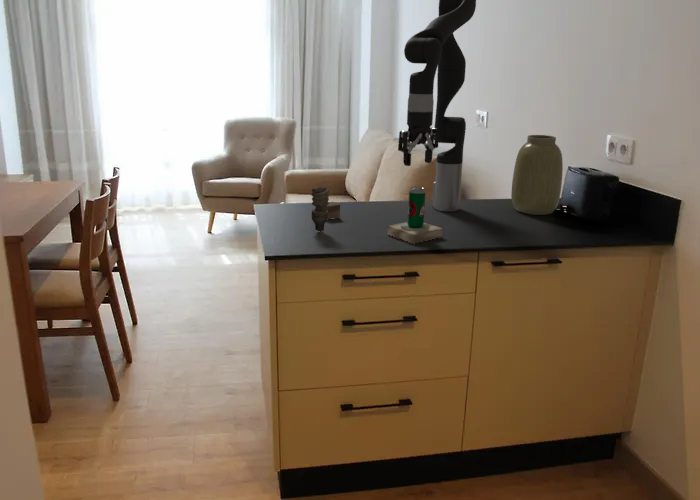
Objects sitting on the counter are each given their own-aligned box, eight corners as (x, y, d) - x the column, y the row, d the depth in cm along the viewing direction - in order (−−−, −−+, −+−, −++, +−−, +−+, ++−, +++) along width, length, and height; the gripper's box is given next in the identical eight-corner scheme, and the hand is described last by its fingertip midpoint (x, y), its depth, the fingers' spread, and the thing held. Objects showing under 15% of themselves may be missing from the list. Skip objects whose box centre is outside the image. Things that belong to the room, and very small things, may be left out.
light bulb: (331, 231, 200) (332, 185, 195) (325, 236, 195) (325, 188, 190) (315, 229, 202) (315, 183, 197) (308, 234, 197) (308, 187, 192)
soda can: (422, 229, 192) (424, 190, 189) (406, 227, 193) (408, 189, 190) (424, 224, 197) (426, 187, 193) (408, 223, 198) (410, 186, 194)
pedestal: (387, 234, 197) (387, 225, 196) (415, 228, 204) (415, 219, 203) (413, 244, 188) (414, 234, 187) (441, 237, 195) (442, 227, 194)
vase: (520, 202, 241) (527, 132, 233) (564, 209, 232) (573, 136, 223) (502, 211, 228) (509, 136, 220) (548, 219, 218) (557, 141, 210)
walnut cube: (327, 206, 211) (327, 220, 213) (340, 204, 214) (339, 218, 215) (320, 203, 215) (320, 217, 217) (332, 201, 218) (332, 215, 219)
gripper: (428, 107, 191) (426, 159, 196) (393, 109, 183) (391, 164, 188) (446, 109, 185) (443, 163, 190) (411, 111, 177) (408, 168, 182)
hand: (417, 164), depth 189 cm, fingers open, 8 cm apart
